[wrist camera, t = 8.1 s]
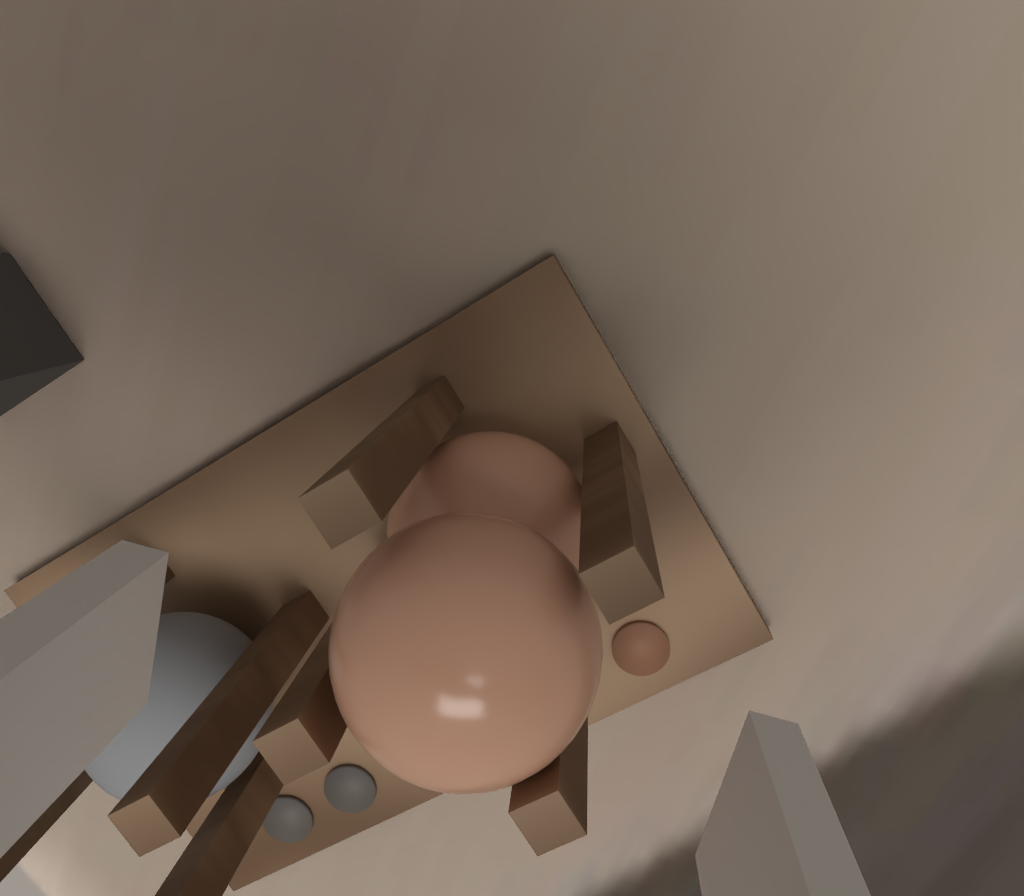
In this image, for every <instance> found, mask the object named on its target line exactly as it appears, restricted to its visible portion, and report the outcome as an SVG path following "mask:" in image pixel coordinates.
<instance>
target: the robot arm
mask: <svg viewBox="0 0 1024 896" xmlns="http://www.w3.org/2000/svg"><path fill="white" fill-rule="evenodd" d="M168 556H169V552H165V551H161V550H158V549H154V548H150V547H147V546H143V545H139V544H136V543H132V542H128V541H125V540H121V541H120V542H118V543H117V544H115V545H113V546H112V547H110V548H109V549H107V550H106V551H104V552H103V553H101V554H100V555H98V556H97V557H95V558H94V559H92V560H90V561H89V562H87V563H86V564H84V565H83V566H81V567H80V568H78V569H77V570H75V571H74V572H72V573H70V574H69V575H67V576H66V577H64V578H63V579H61V580H60V581H58V582H57V583H55V584H54V585H52V586H51V587H49V588H47V589H46V590H44V591H43V592H41V593H40V594H38V595H37V596H35V597H34V598H32V599H31V600H29V601H28V602H26V603H24V604H23V605H21V606H20V607H18V608H17V609H15V610H14V611H12V612H11V613H9V614H8V615H6V616H5V617H3V618H1V619H0V858H1V857H2V856H3V855H4V854H5V853H6V852H7V851H8V850H9V849H10V848H11V847H12V846H13V844H14V843H15V842H16V841H17V840H18V839H19V838H20V837H21V836H22V835H23V834H24V833H25V832H26V831H27V830H28V829H29V828H30V827H31V825H32V824H33V823H34V822H35V821H36V820H37V819H38V818H39V817H40V816H41V815H42V814H43V813H44V812H45V811H46V810H47V809H48V808H49V806H50V805H51V804H52V803H53V802H54V801H55V800H56V799H57V798H58V797H59V796H60V795H61V794H62V793H63V792H64V791H65V790H66V789H67V787H68V786H69V785H70V784H71V783H72V782H73V781H74V780H75V779H76V778H77V777H78V776H79V775H80V774H81V773H82V772H83V771H84V769H85V768H86V767H87V766H88V765H89V764H90V763H91V762H92V761H93V760H94V759H95V758H96V757H97V756H98V755H99V754H100V753H101V752H102V750H103V749H104V748H105V747H106V746H107V745H108V744H109V743H110V742H111V741H112V740H113V739H114V738H115V737H116V736H117V735H118V734H119V733H120V731H121V730H122V729H123V728H124V727H125V726H126V725H127V724H128V723H129V722H130V721H131V720H132V719H133V718H134V717H135V716H136V715H137V714H138V712H139V711H140V710H141V709H142V708H143V707H144V706H145V705H146V704H147V703H148V697H149V690H150V683H151V675H152V668H153V661H154V654H155V647H156V640H157V633H158V626H159V619H160V612H161V605H162V598H163V591H164V584H165V577H166V570H167V563H168ZM695 857H696V863H697V869H698V875H699V881H700V887H701V893H702V896H870V893H869V891H868V888H867V886H866V884H865V881H864V879H863V877H862V874H861V872H860V869H859V867H858V865H857V862H856V860H855V858H854V855H853V853H852V850H851V848H850V846H849V843H848V841H847V839H846V836H845V834H844V831H843V829H842V827H841V824H840V822H839V820H838V817H837V815H836V812H835V810H834V808H833V805H832V803H831V801H830V798H829V796H828V793H827V791H826V789H825V786H824V784H823V782H822V779H821V777H820V774H819V772H818V770H817V767H816V765H815V763H814V760H813V758H812V756H811V753H810V751H809V748H808V746H807V744H806V741H805V739H804V737H803V734H802V732H801V729H800V727H799V725H798V724H797V723H793V722H790V721H786V720H782V719H779V718H775V717H771V716H768V715H764V714H760V713H757V712H753V711H749V712H748V715H747V718H746V720H745V723H744V726H743V728H742V731H741V734H740V736H739V739H738V742H737V744H736V747H735V750H734V752H733V755H732V758H731V760H730V763H729V766H728V768H727V771H726V774H725V776H724V779H723V782H722V784H721V787H720V790H719V792H718V795H717V798H716V800H715V803H714V806H713V808H712V811H711V814H710V816H709V819H708V822H707V824H706V827H705V830H704V832H703V835H702V838H701V840H700V843H699V846H698V848H697V851H696V854H695Z"/></svg>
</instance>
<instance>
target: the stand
mask: <svg viewBox="0 0 1024 896" xmlns="http://www.w3.org/2000/svg"><path fill="white" fill-rule="evenodd" d="M81 361H83V358H82V357H81V355H80V354H79V352H78V351H77V350H76V348H75V347H74V345H73V344H72V342H71V341H70V340H69V338H68V337H67V335H66V334H65V332H64V331H63V330H62V328H61V327H60V325H59V324H58V322H57V321H56V320H55V318H54V317H53V315H52V314H51V312H50V311H49V310H48V308H47V307H46V305H45V304H44V302H43V301H42V300H41V298H40V297H39V295H38V294H37V293H36V291H35V290H34V288H33V287H32V285H31V284H30V283H29V281H28V280H27V278H26V277H25V275H24V274H23V273H22V271H21V270H20V268H19V267H18V265H17V264H16V263H15V261H14V260H13V258H12V257H11V255H10V254H9V253H2V254H0V416H1V415H3V414H4V413H6V412H7V411H9V410H10V409H12V408H13V407H15V406H16V405H18V404H19V403H21V402H22V401H24V400H25V399H26V398H28V397H29V396H31V395H32V394H34V393H35V392H37V391H38V390H40V389H41V388H43V387H44V386H46V385H47V384H49V383H50V382H52V381H53V380H55V379H56V378H58V377H59V376H61V375H62V374H64V373H65V372H67V371H68V370H70V369H71V368H73V367H74V366H75V365H77V364H78V363H80V362H81Z"/></svg>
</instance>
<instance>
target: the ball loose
mask: <svg viewBox="0 0 1024 896" xmlns="http://www.w3.org/2000/svg"><path fill="white" fill-rule="evenodd" d="M328 655H329V674H330V679H331V684H332V688H333V692H334V696H335V700H336V703H337V705H338V708H339V710H340V713H341V715H342V717H343V719H344V721H345V723H346V725H347V726H348V728H349V730H350V732H351V733H352V735H353V736H354V738H355V739H356V740H357V741H358V743H359V744H360V745H361V746H362V748H363V749H364V750H365V751H366V752H367V753H368V754H369V755H370V756H371V757H372V758H373V759H374V760H375V761H376V762H377V763H378V764H380V765H381V766H382V767H384V768H385V769H386V770H388V771H389V772H391V773H393V774H394V775H396V776H398V777H399V778H401V779H403V780H405V781H407V782H409V783H411V784H414V785H416V786H418V787H422V788H425V789H428V790H432V791H436V792H441V793H449V794H479V793H486V792H491V791H496V790H499V789H503V788H506V787H509V786H511V785H514V784H516V783H519V782H521V781H523V780H525V779H526V778H528V777H530V776H532V775H534V774H536V773H537V772H539V771H540V770H542V769H543V768H544V767H546V766H547V765H549V764H550V763H551V762H552V761H553V760H554V759H555V758H556V757H557V756H558V755H560V754H561V753H562V752H563V751H564V750H565V748H566V747H567V746H568V745H569V744H570V743H571V741H572V740H573V739H574V738H575V736H576V734H577V733H578V731H579V730H580V728H581V726H582V725H583V723H584V722H585V720H586V718H587V716H588V714H589V712H590V710H591V707H592V705H593V702H594V699H595V696H596V693H597V690H598V686H599V682H600V676H601V668H602V658H603V647H602V633H601V626H600V621H599V617H598V613H597V610H596V606H595V603H594V601H593V598H592V596H591V594H590V592H589V591H588V589H587V587H586V586H585V584H584V583H583V581H582V579H581V578H580V576H579V572H578V570H577V568H576V567H575V566H574V565H573V563H572V562H571V561H570V560H569V558H568V557H567V556H566V555H565V554H564V553H563V552H562V551H561V550H559V549H558V548H557V547H556V546H555V545H554V544H553V543H552V542H551V541H550V540H548V539H547V538H546V537H544V536H543V535H541V534H540V533H539V532H537V531H535V530H533V529H531V528H529V527H528V526H526V525H523V524H521V523H518V522H516V521H513V520H511V519H508V518H505V517H501V516H497V515H493V514H486V513H479V512H458V513H448V514H443V515H438V516H434V517H430V518H427V519H424V520H421V521H418V522H415V523H413V524H411V525H409V526H407V527H405V528H403V529H401V530H399V531H398V532H396V533H395V534H393V535H392V536H390V537H389V538H387V539H386V540H385V541H383V542H382V543H381V544H380V545H379V546H377V547H376V548H375V549H374V550H373V551H372V552H371V553H370V554H369V555H368V556H367V557H366V558H365V559H364V560H363V562H362V563H361V564H360V565H359V567H358V568H357V569H356V571H355V572H354V574H353V575H352V577H351V578H350V580H349V581H348V583H347V584H346V586H345V589H344V591H343V593H342V595H341V598H340V600H339V602H338V605H337V607H336V610H335V613H334V617H333V621H332V625H331V631H330V637H329V648H328Z"/></svg>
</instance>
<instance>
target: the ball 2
mask: <svg viewBox="0 0 1024 896" xmlns="http://www.w3.org/2000/svg"><path fill="white" fill-rule="evenodd" d="M581 496H582V485H581V483H580V481H579V480H578V478H577V477H576V476H575V474H574V473H573V471H572V470H571V469H570V468H569V467H568V466H567V464H566V463H565V462H564V461H563V460H562V459H561V458H560V457H558V456H557V455H556V454H555V453H554V452H553V451H551V450H550V449H548V448H547V447H545V446H543V445H542V444H540V443H538V442H536V441H534V440H532V439H530V438H527V437H524V436H521V435H518V434H513V433H508V432H499V431H484V432H474V433H469V434H464V435H461V436H458V437H455V438H452V439H450V440H448V441H446V442H444V443H441V444H440V445H438V446H437V447H436V448H435V449H434V451H433V452H432V453H431V455H430V456H429V458H428V459H427V460H426V462H425V463H424V464H423V466H422V467H421V469H420V470H419V471H418V473H417V474H416V475H415V477H414V478H413V479H412V481H411V482H410V484H409V485H408V486H407V488H406V489H405V490H404V492H403V493H402V495H401V496H400V497H399V499H398V500H397V501H396V503H395V504H394V506H393V507H392V508H391V510H390V512H389V517H388V524H387V538H389V537H390V536H392V535H393V534H395V533H396V532H398V531H399V530H401V529H403V528H405V527H407V526H409V525H411V524H413V523H415V522H418V521H421V520H424V519H427V518H430V517H434V516H438V515H443V514H448V513H458V512H479V513H486V514H493V515H497V516H501V517H505V518H508V519H511V520H513V521H516V522H518V523H521V524H523V525H526V526H528V527H529V528H531V529H533V530H535V531H537V532H539V533H540V534H541V535H543V536H544V537H546V538H547V539H548V540H550V541H551V542H552V543H553V544H554V545H555V546H556V547H557V548H558V549H559V550H561V551H562V552H563V553H564V554H565V555H566V556H567V557H568V558H569V560H570V561H571V562H572V563H573V565H574V566H575V567H576V568H577V570H578V572H579V548H580V522H581Z"/></svg>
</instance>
